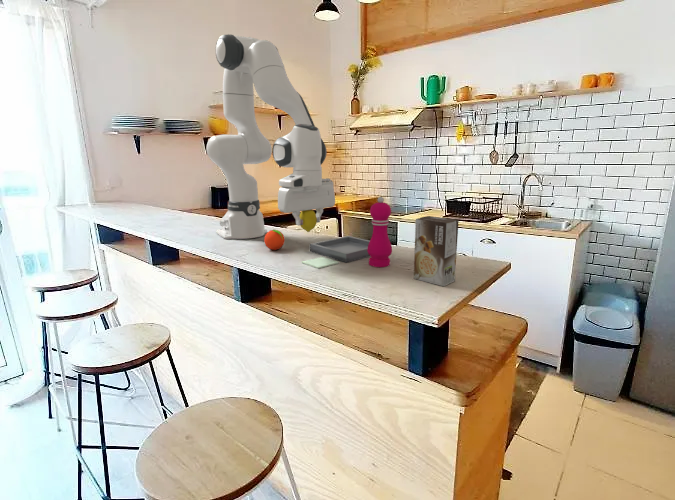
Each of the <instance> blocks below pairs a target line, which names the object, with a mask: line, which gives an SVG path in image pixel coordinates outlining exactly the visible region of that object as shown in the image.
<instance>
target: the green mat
mask: <svg viewBox="0 0 675 500" xmlns="http://www.w3.org/2000/svg"><path fill="white" fill-rule="evenodd" d="M339 263H340V261H339V260H335V259H332V258H329V257H326V256H320V257H315V258H312V259H307V260H303V261H301V264H303V265H307V266H310V267H313V268H316V269H323V268H326V267H330V266H335V265H338V264H339Z"/></svg>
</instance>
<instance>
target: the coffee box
mask: <svg viewBox="0 0 675 500" xmlns="http://www.w3.org/2000/svg"><path fill="white" fill-rule="evenodd" d="M459 222H460V221H459V219H455V218H448V217H442V216H441V217H439V216H438V217H437V216H430V215H427V216H421V217H418V218H416V219H415V224H414V225H415V230H414V233H415V234H414V259H413V279H414V280H418V281H422V282H426V283H430V284H434V285H436V286H441V287H445V286H448V285H449V284H451V283H453V282H455V281H456V266H457V265H456V264H457V252H458V251H457V250H458V234H459Z"/></svg>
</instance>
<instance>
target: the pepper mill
mask: <svg viewBox="0 0 675 500" xmlns="http://www.w3.org/2000/svg"><path fill="white" fill-rule="evenodd" d="M384 201H385V199H384V197H382V196H379V197H378V198H377V202H375V203H373V204H372V205H371V206H370V209H369V210H370V211H369V214H370V216H371V225H372V235H371V237H370V240H369V241H370V242H369V244H368V250H367V252H368V254H369V255H370V256H369V258H368V265H369V266H371V267H373V268H385V267H389V266H390V265H391V258H390V256H391V254H392V252H393V247H392V242H391V241H390V237H389V234H388V226H389V225H390V223H389V221H390V219H389V218H390V216H392V209H391V206H390V205H389V204H388V203H386V202H384Z"/></svg>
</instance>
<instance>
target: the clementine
mask: <svg viewBox="0 0 675 500" xmlns="http://www.w3.org/2000/svg"><path fill="white" fill-rule="evenodd" d="M285 241H286V239H285V236H284V234H283V232H282V231H280V230H278V229H271V230H269V231H267V233H265V234H264V240H263V242H264V244H265V246H266V247H267V248H268V249H269V250H272V251H277V250H279V249H281V248H282V247H283V246H284V245H285Z"/></svg>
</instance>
